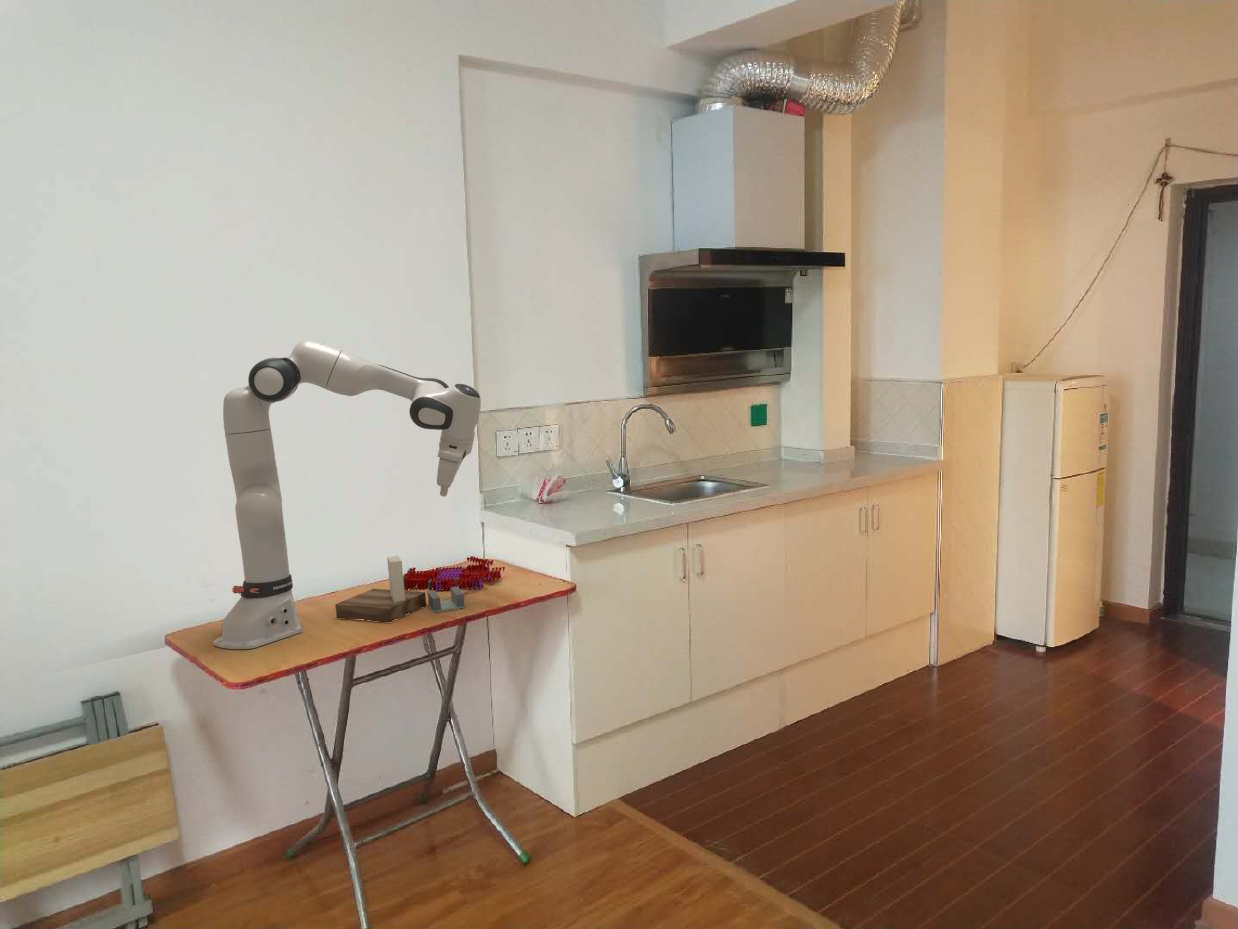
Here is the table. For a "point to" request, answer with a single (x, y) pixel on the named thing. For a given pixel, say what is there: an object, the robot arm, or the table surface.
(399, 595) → the beige upright block
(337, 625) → the table surface
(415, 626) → the table surface
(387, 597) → the deck
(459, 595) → the rack
